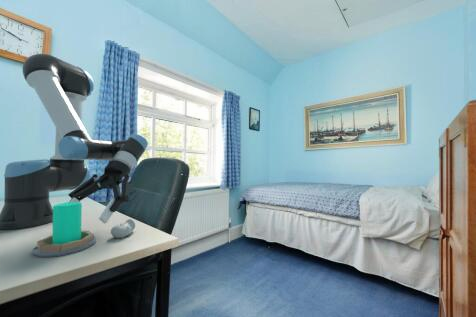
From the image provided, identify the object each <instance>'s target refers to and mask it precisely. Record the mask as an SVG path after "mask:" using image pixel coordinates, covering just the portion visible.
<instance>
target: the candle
mask: <svg viewBox="0 0 476 317" xmlns="http://www.w3.org/2000/svg"><path fill="white" fill-rule="evenodd" d="M66 199H67V202H61V203H57V204H54V205H52V208H53V221H52V235H53V241H52V244H64V243H68V242H72V241H77V240H81V231H82V208H83V207H82V201H80V202H79V203H74V202H69V197H68V198H66Z"/></svg>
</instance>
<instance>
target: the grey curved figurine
mask: <svg viewBox="0 0 476 317" xmlns="http://www.w3.org/2000/svg"><path fill="white" fill-rule="evenodd" d="M135 228H136V222H135V221H134V220H133V219H130V218H129V219H126V220H125V222H124V223H123V222H122V223H120V224H118V225H114V226H113V227H112V228H111V229H110V235H111V236H112V237H113V238H115V239H124V238H127V236H128V235H131V234H132V232H133V231H134V230H135Z"/></svg>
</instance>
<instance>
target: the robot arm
mask: <svg viewBox="0 0 476 317" xmlns="http://www.w3.org/2000/svg"><path fill="white" fill-rule="evenodd" d="M22 75H23V78H24V80H25V81H26V83H27V85H28V86H29V87H30V88H32V89H34V91H35V93H36V94H37V96H38V97H39V100H40V101H41V103H42V105H43V106H44V109H45V110H46V112H47V114H48V116H49V118H50V120H51V121H52V123H53V125H54V126H55V143H54V155H52V156H51V157H50V158H49V159H45V158H44V159H30V160H29V159H28V160H19V161H12V162H9V163H7V164H6V165H5V170H4V175H3V176H4V203H3V204H4V205H3V207H2V209H1V210H0V230H16V229H17V230H18V229H24V228H31V227H37V226H41V225H42V226H43V225H46V224H49V223H51V222H52V223H53V205H52V203H51V201H50V193H53V192H60V191H68V190H69V191H71V192H70V193H68V195H67V196H69V197H70V198H71V199H70V200H68V202H74V203H79V202H82V201H83V200H85V199H86V198H87V197H89V196H91V195H92V194H94V193H96V192H98V191H102V190H105V189H108V190H112V193H113V198H111V199H110V201H109V203H108V204H107V206H106V207H105V208H104V209H103V211H102V213H101V214H100V216H99V217H98V219H99V221H101V222H102V223H103V224H107V223H108V222H109V220H110V218H111V217H112V216H113V214H114V213H115V212H116V211H117V210H118V208H119V207H120V205H122V204H123V203H128V202H129V201H130V192H131V190H130V189H131V183H132V181H133V179H132V178H131V176H130V174H131V172H132V170H133V169H134V167H135V165H136V164H137V163H138V161H139V160H140V158H141V157H142V156H143V154H144V153H145V151H146V149H147V147H148V145H149V143H148V140H147V138H146V137H144V136H143V135H142V134H138V133H133V134H131V135H130V136H128V138H127V139H121V140H114V141H113V140H112V141H111V140H103V139H95V138H91V136H90V134H89V133H88V131H87V129H86V128H85V126H84V125H83V122H82V121H83V103H84V102H85V101H86V100H87V99H88V97H89V96H91V95H92V93H93V91H94V89H95V88H94V87H95V83H94V80H93V78H92V76H91V74H90V73H88V72H87V70H84V69H82V68H81V67H79V66H75V65H73V64H71V63H69V62H66V61H65V60H62V59H60V58H58V57H56V56H53V55H50V54H48V53H37V54H33V55H30V56H29V57H27V58H26V59H25V61H24V62H23V64H22ZM85 160H87V161H88V160H89V161H91V160H93V161H94V160H96V161H103V162H104V161H105V162H108V163H107V165H106V166H105V167H104V170H103V174H102V175H97V174H93V175H92V176H91V168H90V167H89V165H88V164H87V163H85ZM121 184H122V187H120V185H121ZM69 197H68V198H69Z"/></svg>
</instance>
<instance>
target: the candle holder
mask: <svg viewBox="0 0 476 317" xmlns="http://www.w3.org/2000/svg"><path fill="white" fill-rule="evenodd" d="M52 241H53V234H51V235H50V236H47V237H45V238H42V239H39V240H38V241H37V242H36V244H37V245H36V246H35V247H34V248H33V249H32V255H33V256H34V257H36V258H54V257H63V256H67V255H71V254H75V253H78V252H82V251H84V250H86V249H89V248H91V247H93V246H94V245H95V244H96V243H97V236H95V234H94V233H93V232H92V231H90V230H81V240H77V241H72V242H68V243H64V244H52Z"/></svg>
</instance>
